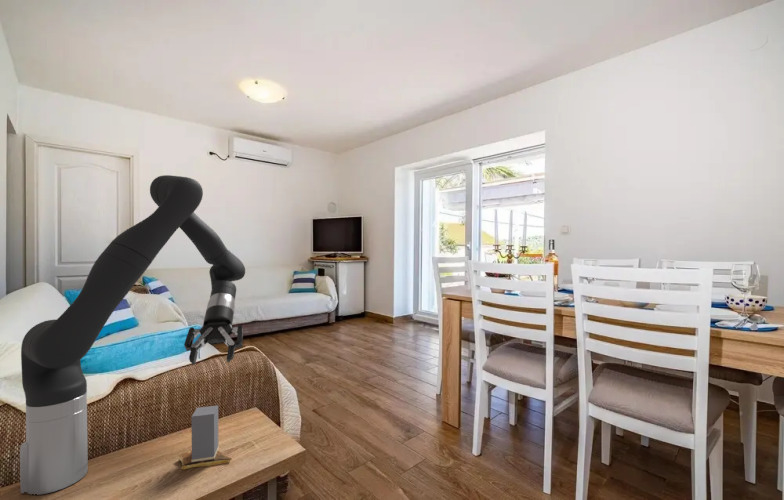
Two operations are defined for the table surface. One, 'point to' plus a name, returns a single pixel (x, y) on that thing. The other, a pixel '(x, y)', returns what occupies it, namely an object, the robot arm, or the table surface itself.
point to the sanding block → (204, 433)
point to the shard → (187, 462)
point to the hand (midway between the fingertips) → (211, 361)
